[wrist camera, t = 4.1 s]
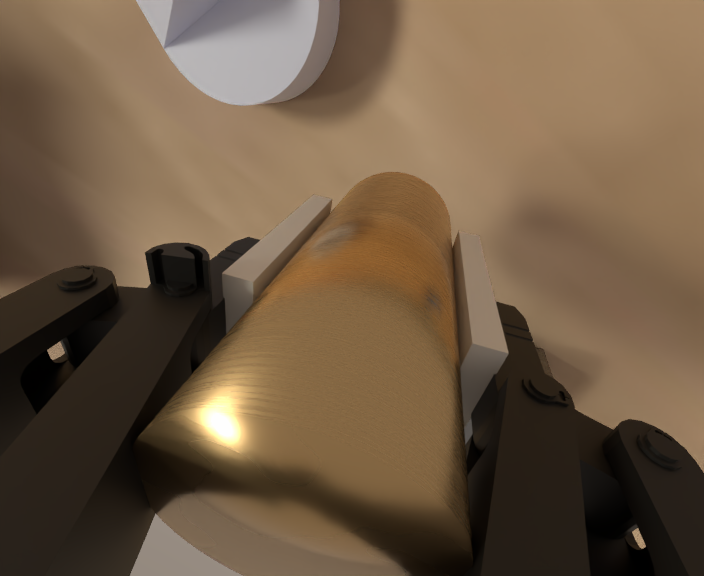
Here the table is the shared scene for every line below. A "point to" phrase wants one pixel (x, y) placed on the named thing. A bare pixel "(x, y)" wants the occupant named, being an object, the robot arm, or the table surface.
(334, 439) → the golden brown cylinder
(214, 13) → the wedge on round base
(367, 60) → the table surface
